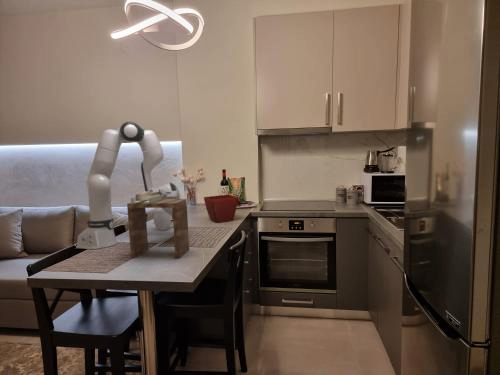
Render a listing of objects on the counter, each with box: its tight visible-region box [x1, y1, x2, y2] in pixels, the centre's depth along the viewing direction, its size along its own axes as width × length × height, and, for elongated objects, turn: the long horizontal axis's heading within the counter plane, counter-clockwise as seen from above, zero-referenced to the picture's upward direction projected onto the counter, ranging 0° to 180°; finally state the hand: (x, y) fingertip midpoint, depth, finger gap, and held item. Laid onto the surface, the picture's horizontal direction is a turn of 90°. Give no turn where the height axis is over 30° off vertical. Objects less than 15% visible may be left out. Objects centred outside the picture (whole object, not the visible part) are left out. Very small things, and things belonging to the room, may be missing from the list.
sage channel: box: [130, 195, 161, 203], centre depth 168 cm, size 10×11×2 cm
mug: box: [152, 208, 173, 232], centre depth 224 cm, size 15×11×13 cm
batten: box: [135, 192, 162, 201], centre depth 172 cm, size 3×22×3 cm, turn 170°
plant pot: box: [203, 194, 239, 224], centre depth 245 cm, size 19×19×17 cm
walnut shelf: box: [126, 198, 190, 260], centre depth 168 cm, size 24×14×26 cm, turn 81°
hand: (154, 190), depth 178 cm, fingers open, 4 cm apart
